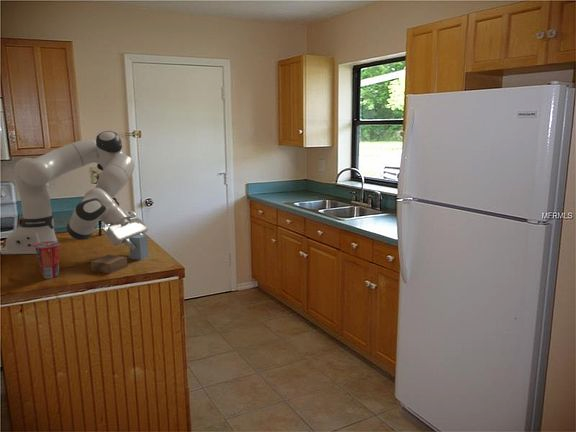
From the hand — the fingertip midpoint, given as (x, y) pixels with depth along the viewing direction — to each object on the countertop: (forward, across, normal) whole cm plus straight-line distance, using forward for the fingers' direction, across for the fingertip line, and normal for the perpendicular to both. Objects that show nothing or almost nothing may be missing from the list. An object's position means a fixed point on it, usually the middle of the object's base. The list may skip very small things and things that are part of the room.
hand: (140, 246), depth 192 cm
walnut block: (+2, -16, +6) cm, 17 cm away
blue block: (+3, 0, +4) cm, 5 cm away
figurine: (-25, +30, +32) cm, 51 cm away
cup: (-9, -29, +16) cm, 35 cm away
